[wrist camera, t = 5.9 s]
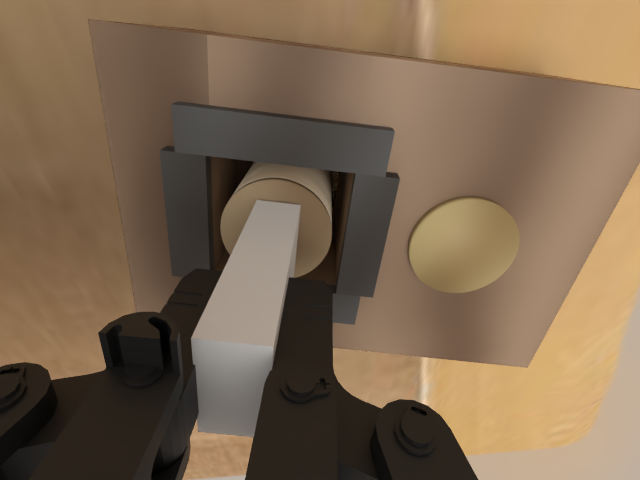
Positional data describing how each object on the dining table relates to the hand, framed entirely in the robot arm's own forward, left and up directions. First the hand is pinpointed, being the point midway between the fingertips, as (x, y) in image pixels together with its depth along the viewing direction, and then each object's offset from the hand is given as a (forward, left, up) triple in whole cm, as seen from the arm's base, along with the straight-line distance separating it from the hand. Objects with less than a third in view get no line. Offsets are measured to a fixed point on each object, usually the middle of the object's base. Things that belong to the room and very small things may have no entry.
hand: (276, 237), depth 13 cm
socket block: (+3, 0, -9) cm, 9 cm away
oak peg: (0, 0, -9) cm, 9 cm away
